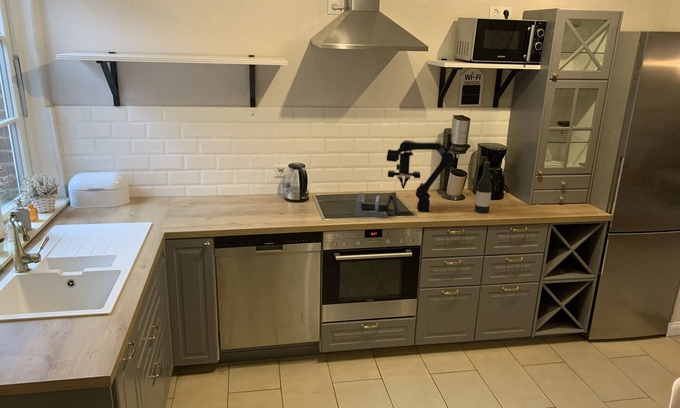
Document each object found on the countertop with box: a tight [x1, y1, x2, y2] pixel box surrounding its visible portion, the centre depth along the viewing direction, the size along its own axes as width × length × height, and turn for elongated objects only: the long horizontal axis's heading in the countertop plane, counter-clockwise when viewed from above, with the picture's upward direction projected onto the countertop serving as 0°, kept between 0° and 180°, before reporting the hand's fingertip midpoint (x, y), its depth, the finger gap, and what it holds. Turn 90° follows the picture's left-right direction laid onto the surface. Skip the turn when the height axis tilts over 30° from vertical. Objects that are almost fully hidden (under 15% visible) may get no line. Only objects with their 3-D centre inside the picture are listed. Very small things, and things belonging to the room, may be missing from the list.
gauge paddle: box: [374, 195, 380, 213], centre depth 290 cm, size 2×18×8 cm, turn 172°
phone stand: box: [383, 191, 401, 216], centre depth 293 cm, size 9×6×12 cm, turn 74°
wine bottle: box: [474, 160, 493, 215], centre depth 298 cm, size 8×8×30 cm
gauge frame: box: [354, 192, 390, 219], centre depth 293 cm, size 18×17×9 cm
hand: (403, 188), depth 301 cm, fingers closed
